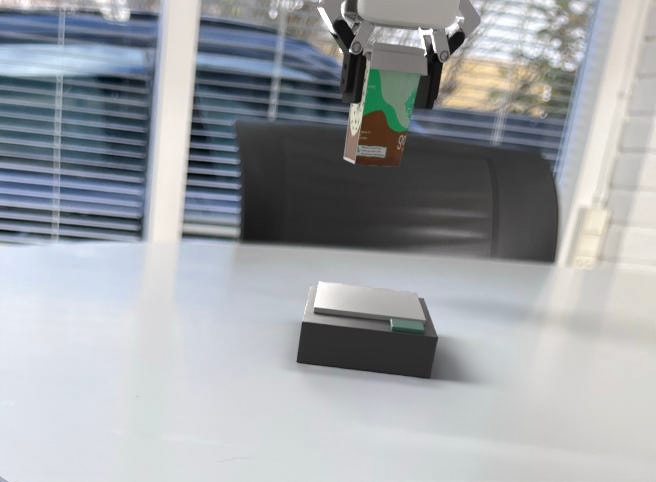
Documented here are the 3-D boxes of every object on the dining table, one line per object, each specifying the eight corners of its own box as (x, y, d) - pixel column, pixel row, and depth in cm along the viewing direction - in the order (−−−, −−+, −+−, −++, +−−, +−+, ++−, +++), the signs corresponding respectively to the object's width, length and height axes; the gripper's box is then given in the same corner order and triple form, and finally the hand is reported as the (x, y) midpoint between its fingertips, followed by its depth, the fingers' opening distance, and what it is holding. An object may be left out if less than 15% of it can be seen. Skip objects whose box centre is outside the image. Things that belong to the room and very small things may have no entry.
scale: (417, 332, 94) (424, 293, 93) (430, 378, 79) (439, 331, 77) (306, 319, 95) (311, 280, 94) (296, 362, 80) (302, 315, 78)
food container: (422, 171, 98) (443, 48, 94) (356, 165, 98) (374, 41, 94) (400, 163, 109) (418, 53, 105) (341, 158, 109) (357, 47, 105)
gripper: (486, -102, 99) (450, 111, 107) (312, -126, 94) (288, 98, 102) (529, -114, 92) (487, 114, 100) (344, -140, 88) (316, 100, 96)
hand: (387, 104), depth 101 cm, fingers closed on food container, 6 cm apart
